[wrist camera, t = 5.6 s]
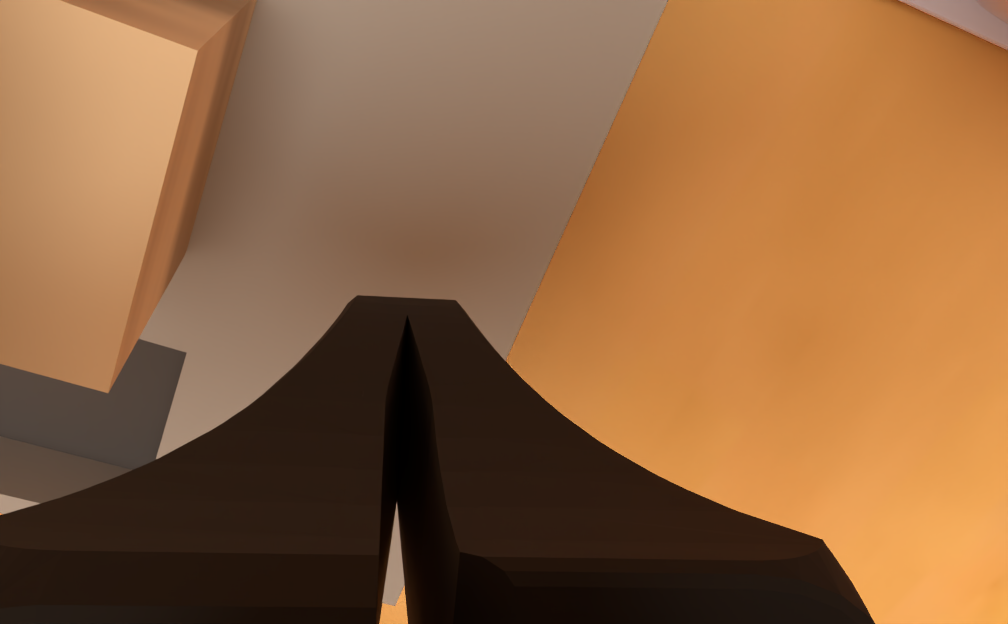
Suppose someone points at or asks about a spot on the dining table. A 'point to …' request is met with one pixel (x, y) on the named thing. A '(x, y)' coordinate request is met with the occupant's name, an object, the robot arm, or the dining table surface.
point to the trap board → (348, 211)
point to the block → (103, 168)
